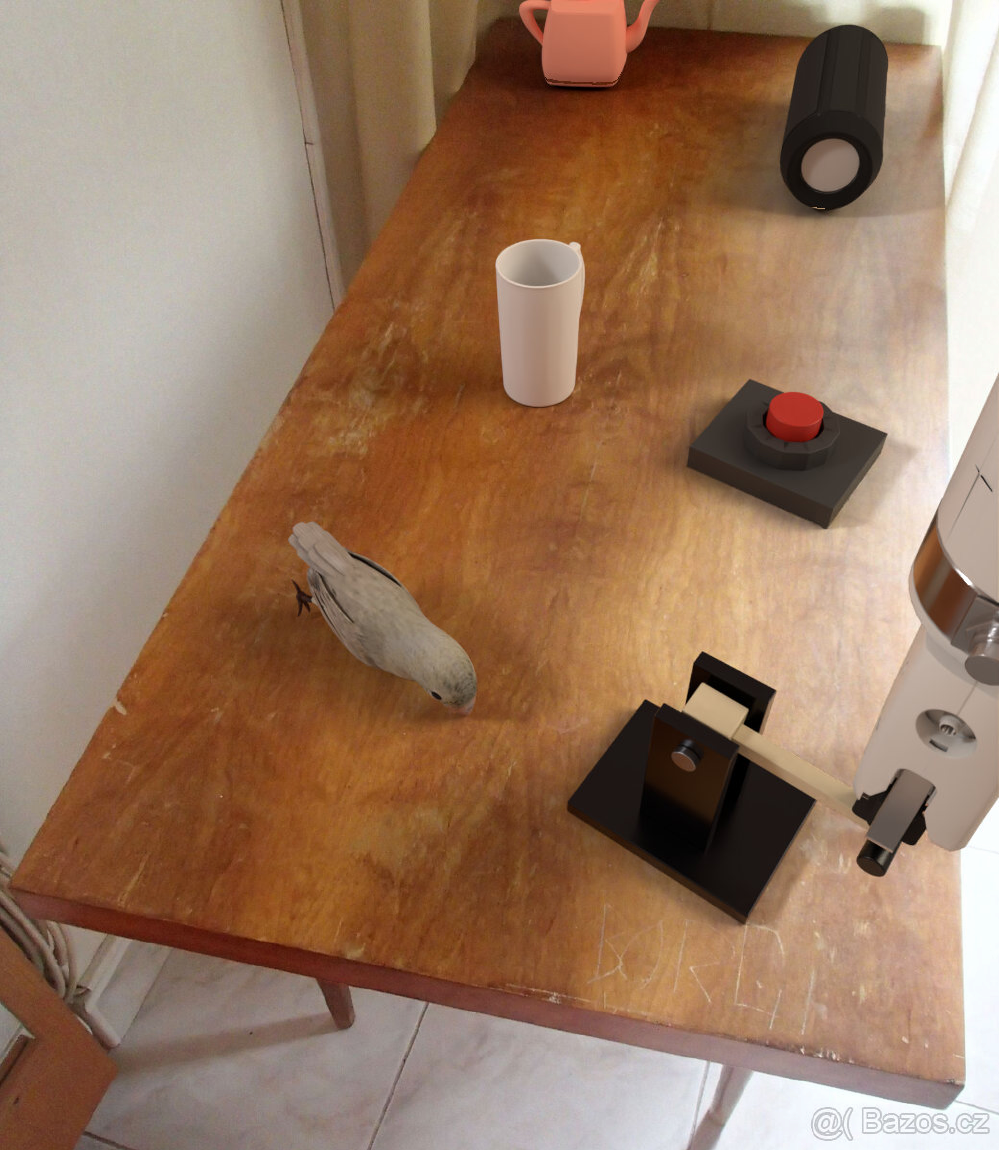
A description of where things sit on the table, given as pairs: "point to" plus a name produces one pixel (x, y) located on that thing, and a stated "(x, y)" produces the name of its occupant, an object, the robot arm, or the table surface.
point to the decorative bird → (381, 619)
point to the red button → (794, 417)
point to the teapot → (585, 38)
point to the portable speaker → (836, 118)
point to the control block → (786, 456)
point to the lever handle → (784, 766)
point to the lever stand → (697, 796)
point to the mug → (539, 319)
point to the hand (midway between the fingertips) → (887, 817)
